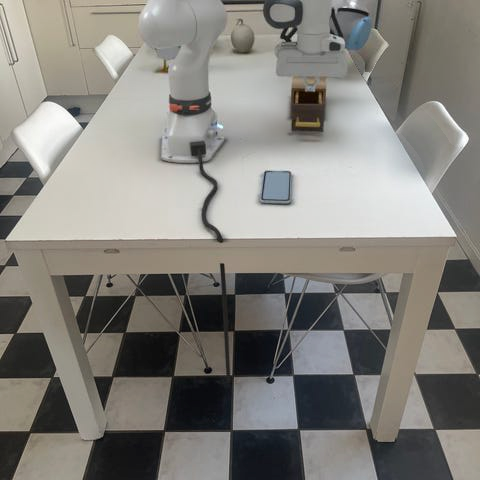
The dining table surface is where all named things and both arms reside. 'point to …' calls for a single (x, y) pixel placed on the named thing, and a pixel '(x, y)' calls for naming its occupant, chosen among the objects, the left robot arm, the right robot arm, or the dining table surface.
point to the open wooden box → (299, 86)
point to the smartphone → (276, 187)
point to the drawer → (308, 112)
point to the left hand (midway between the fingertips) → (310, 91)
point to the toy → (167, 55)
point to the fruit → (242, 37)
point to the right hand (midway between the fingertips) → (310, 60)
